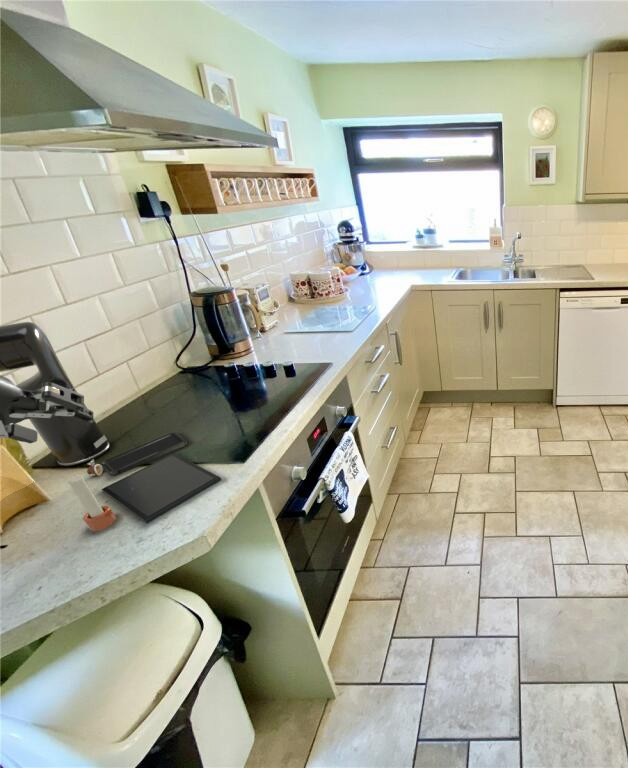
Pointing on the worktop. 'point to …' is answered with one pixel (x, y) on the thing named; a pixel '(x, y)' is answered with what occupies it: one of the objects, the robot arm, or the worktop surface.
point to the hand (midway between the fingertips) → (63, 428)
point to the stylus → (85, 496)
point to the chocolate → (95, 469)
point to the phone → (143, 454)
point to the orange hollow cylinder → (100, 519)
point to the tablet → (160, 487)
